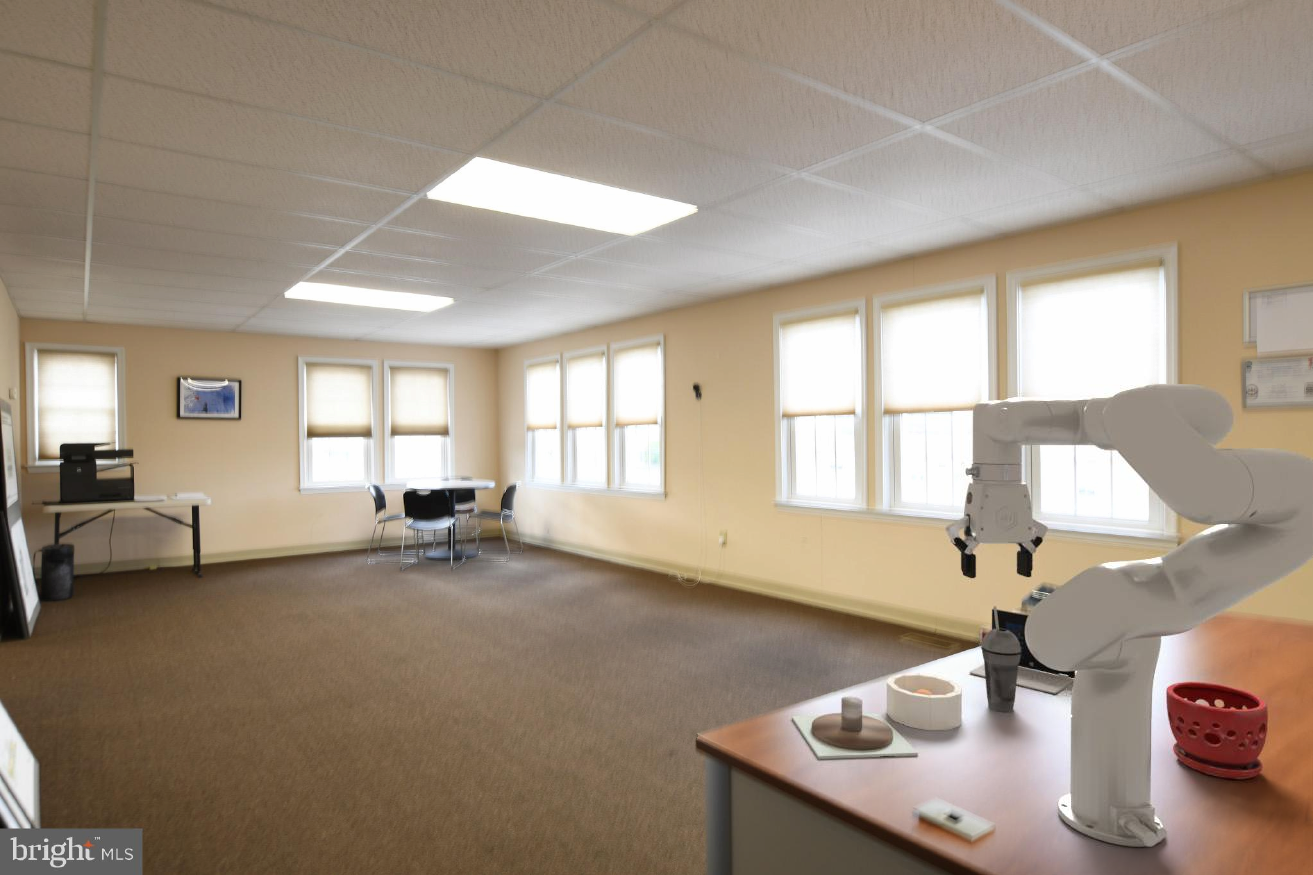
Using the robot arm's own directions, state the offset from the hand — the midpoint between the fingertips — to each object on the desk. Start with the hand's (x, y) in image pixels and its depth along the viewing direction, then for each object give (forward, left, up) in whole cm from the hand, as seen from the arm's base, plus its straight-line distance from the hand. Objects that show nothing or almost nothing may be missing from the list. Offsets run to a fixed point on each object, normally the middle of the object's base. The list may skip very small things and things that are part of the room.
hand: (996, 576), depth 124 cm
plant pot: (-7, -33, -30) cm, 46 cm away
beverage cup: (+20, -12, -30) cm, 38 cm away
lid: (+9, +22, -30) cm, 38 cm away
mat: (+9, +22, -30) cm, 38 cm away
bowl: (+17, +5, -30) cm, 35 cm away
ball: (+17, +5, -27) cm, 32 cm away
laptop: (+37, -27, -31) cm, 55 cm away
